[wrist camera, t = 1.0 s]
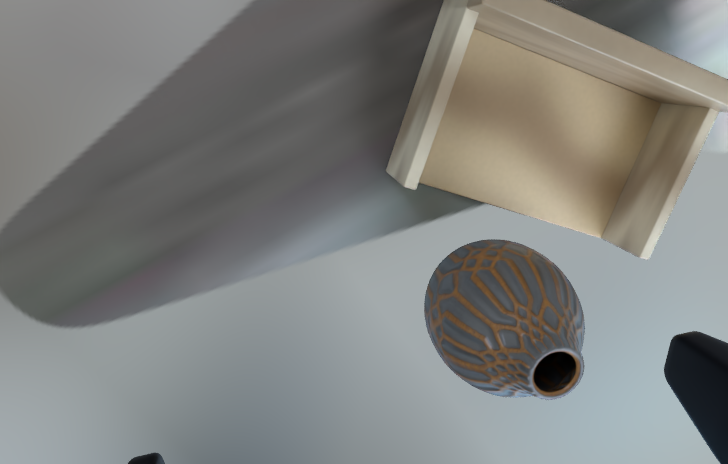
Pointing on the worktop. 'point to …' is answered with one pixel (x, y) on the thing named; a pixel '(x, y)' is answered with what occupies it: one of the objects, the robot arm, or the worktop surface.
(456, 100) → the shoe shelf
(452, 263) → the vase
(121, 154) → the worktop surface
